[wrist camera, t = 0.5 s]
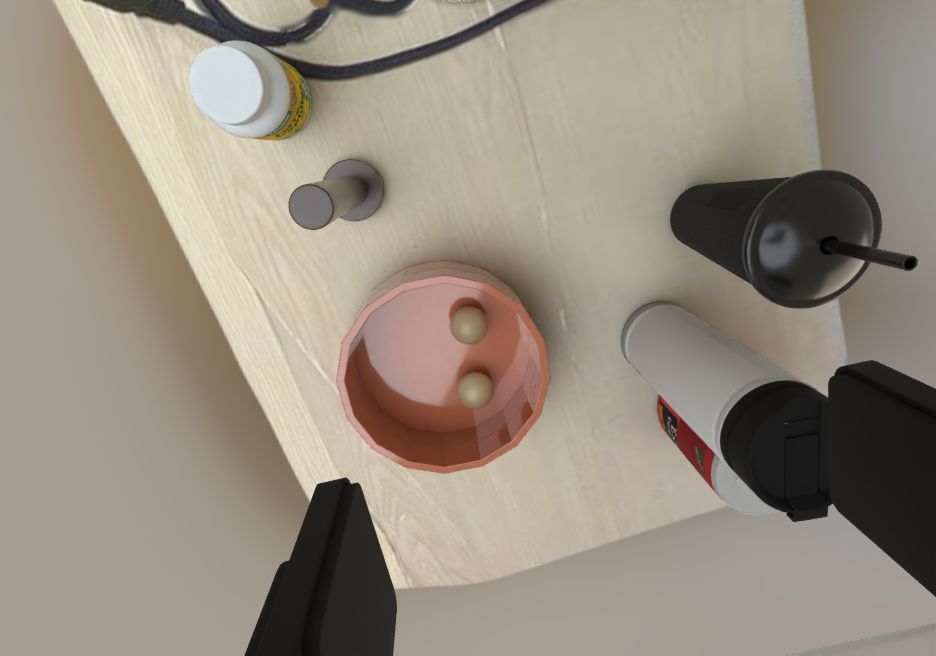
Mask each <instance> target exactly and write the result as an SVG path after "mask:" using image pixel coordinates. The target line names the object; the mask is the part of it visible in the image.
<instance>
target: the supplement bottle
mask: <svg viewBox="0 0 936 656" xmlns="http://www.w3.org/2000/svg"><path fill="white" fill-rule="evenodd" d="M189 87H190V91H191V94H192V96H193V99H194V101H195V102H196V104H197V105H198V107H199V108H200V109H201V110H202V111H203V112H204V113H205V114H206V115H207V116H208V117H209V118H210V119H211V120H212V121H213V122H214V123H215V124H216V125H217V126H218V127H219V128H221V129H222V130H224V131H226V132H227V133H230V134H232V135H235V136H238V137H243V138H253V139H264V140H283V139H287V138H290V137H292V136H294V135H296V134H298V133H299V132H300V131H301V130H302V129H303V128H304V127H305V125H306V123H307V122H308V119H309V117H310V113H311V97H310V93H309V89H308V86H307V84H306V82H305V80H304V78H303V77H302V75H301V74H300V73H299V72H298V71H297V70H296V69H295V68H294V67H292V66H291V65H290V64H288V63H286V62H285V61H283V60H281V59H280V58H278V57H276V56H275V55H273V54H272V53H270V52H268V51H267V50H265V49H263V48H261V47H260V46H258V45H255V44H253V43H249V42H245V41H228V42H224V43H221V44H219V45H215V46H211V47H208V48H206V49H205V50H203V51H202V52H200V53H199V54H198V55H197V56H196V58H195V59H194V61H193V63H192V65H191V68H190V72H189Z"/></svg>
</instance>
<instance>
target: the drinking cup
mask: <svg viewBox="0 0 936 656" xmlns="http://www.w3.org/2000/svg"><path fill="white" fill-rule="evenodd" d="M670 222H671V228H672V231H673V233H674V235H675V236H676V238H677V239H678V240H679V241H681V242H682V243H684V244H685V245H687V246H689V247H690V248H692V249H694V250H695V251H697V252H699V253H700V254H702V255H704V256H705V257H707V258H709V259H710V260H712V261H713V262H715V263H717V264H718V265H720V266H722V267H723V268H725V269H727V270H728V271H730V272H732V273H733V274H735V275H737V276H738V277H740V278H742V279H743V280H745V281H747V282H748V283H750V284H752V285H753V287H754V288H755V289H756V290H757V292H758V293H760V294H761V295H762V296H763V297H765V298H766V299H768V300H769V301H771V302H773V303H776V304H778V305H781V306H784V307H788V308H797V309H802V308H812V307H816V306H820V305H823V304H826V303H829V302H831V301H833V300H835V299H837V298H839V297H840V296H842V295H843V294H845V293H846V292H847V291H849V290H850V289H851V288H852V287H853V286H854V285H856V284H857V282H858V281H859V280H860V279H861V278H862V277H863V276H864V274H865V273H866V271H867V270H868V269H869V267H870V265H871V264H872V263H876V264H880V265H885V266H888V267H893V268H897V269H901V270H905V271H911V270H913V269H914V268H915V267H916V266H917V263H918V260H917V258H916V257H914V256H910V255H905V254H901V253H896V252H891V251H886V250H882V249H878V247H879V243H880V239H881V231H882V220H881V213H880V209H879V206H878V203H877V201H876V199H875V197H874V195H873V193H872V192H871V191H870V189H869V188H868V187H867V186H866V185H865V184H864V183H863V182H861V181H860V180H859V179H857V178H856V177H854V176H852V175H850V174H847V173H844V172H841V171H835V170H814V171H808V172H804V173H801V174H798V175H796V176H793V177H786V178H774V179H762V180H751V181H739V182H727V183H715V184H704V185H697V186H694V187H692V188H690V189H688V190H686V191H685V192H684V193H682V194H681V195H680V197H679V198H678V199H677V200H676V202H675V204H674V206H673V208H672V211H671V217H670Z"/></svg>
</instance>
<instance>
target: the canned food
mask: <svg viewBox="0 0 936 656" xmlns="http://www.w3.org/2000/svg"><path fill="white" fill-rule="evenodd" d="M657 410H658V415H659V421H660V424H661V426H662V428H663V430H664V431H665V432H666V433H667V435H668V436H669V437H670V438H671V440H672V441H673V442H674V443H675V444H676V446H677V447H678V448H679V449H680V450H681V452H682V453H683V454H684V455H685V457H686V458H687V459H688V460H689V461H690V463H691V464H692V465H693V466H694V467H695V469H696V470H697V471H698V472H699V474H700V475H701V476H702V477H703V478H704V480H705V481H706V482H707V483H708V484H709V486H710V487H711V488H712V489H713V490H714V491H715V492H716V494H717V495H718V496H719V497H720V498H721V499H722V500H723V501H724V502H725V503H726V504H727V505H729V506H730V507H731V508H733V509H735V510H737V511H739V512H741V513H746V514H750V515H766V514H773V513H776V512H779V510H776V509H774V508H772V507H770V506H769V505H767V504H765V503H764V502H763V501H762V500H761V499H760V498H759V497H758V496H757V495H756V494H755V493H754V492H753V491H752V490H751V489H750V488H749V487H748V486H747V485H746V484H745V483H744V482H743V481H742V480H741V479H740V478H739V476H738V475H737V474H735V473H734V472H733V471H732V470H731V469H730V468H728V467H727V466H726V464H725V463H724V462H723V461H722V460H721V459H720V458H719V457H718V456H717V455H716V454H715V453H714V452H713V451H712V450H711V449H710V448H709V447H708V445H707V444H706V443H705V442H704V441H703V440H702V439H701V438H700V437H699V436H698V435H697V434H696V433H695V432H694V431H693V430H692V429H691V428H690V427H689V425H688V424H687V423H686V422H685V421H684V420H683V419H682V418H681V417H680V416H679V415H678V414H677V413H676V412H675V411H674V410H673V409H672V408H671V407H670V405H669V404H668V403H667V402H666V401H665V400H664V399H663V398H662V397H661V396H659V400H658V409H657Z"/></svg>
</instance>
